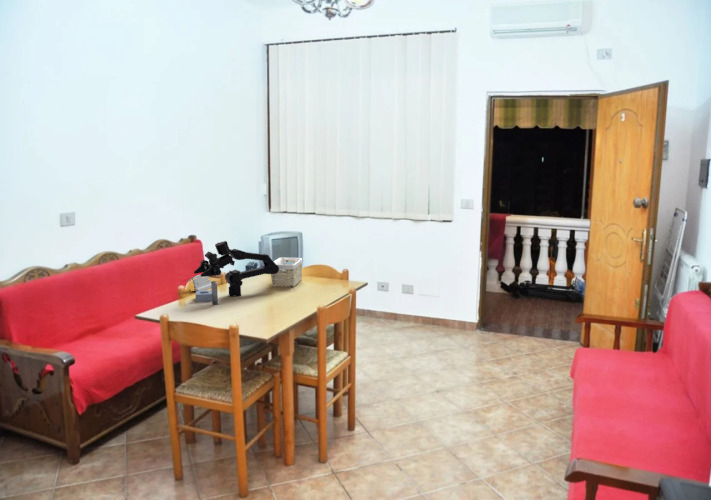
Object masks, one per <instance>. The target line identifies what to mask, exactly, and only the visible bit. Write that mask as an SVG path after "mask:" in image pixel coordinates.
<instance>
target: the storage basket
mask: <svg viewBox="0 0 711 500" xmlns="http://www.w3.org/2000/svg"><path fill="white" fill-rule="evenodd" d="M273 262H274V263H275V264H276V265H278V267H279V271H278V273H276V274H270V279H271V284H272V285H271V286H272V287H275V288H276V286H294V287H295V286H296V285H298V284H299V283H300V282H301V281H302V279H303V258H302V257H278V258H277V259H275V260H273ZM287 262H289V263H293V264H287Z"/></svg>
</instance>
